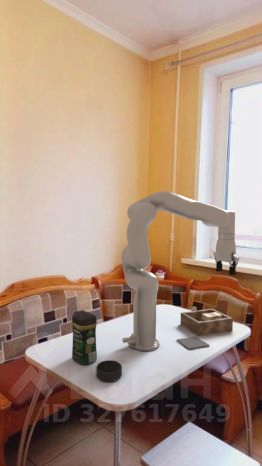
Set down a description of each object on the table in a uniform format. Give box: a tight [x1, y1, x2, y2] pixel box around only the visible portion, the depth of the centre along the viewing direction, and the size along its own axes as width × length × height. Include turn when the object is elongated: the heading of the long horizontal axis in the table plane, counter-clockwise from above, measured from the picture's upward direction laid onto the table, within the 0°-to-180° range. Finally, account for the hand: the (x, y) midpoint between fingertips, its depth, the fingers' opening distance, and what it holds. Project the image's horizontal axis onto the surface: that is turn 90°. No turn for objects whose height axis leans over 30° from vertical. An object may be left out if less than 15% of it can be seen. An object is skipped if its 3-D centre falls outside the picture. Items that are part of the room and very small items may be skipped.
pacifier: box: [190, 306, 198, 311], centre depth 173 cm, size 7×6×6 cm
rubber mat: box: [176, 335, 210, 351], centre depth 141 cm, size 10×10×1 cm
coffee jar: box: [71, 309, 98, 365], centre depth 124 cm, size 10×8×19 cm
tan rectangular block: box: [202, 312, 222, 321], centre depth 161 cm, size 8×5×3 cm, turn 112°
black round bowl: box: [95, 359, 123, 383], centre depth 113 cm, size 9×9×4 cm
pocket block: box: [180, 308, 234, 337], centre depth 160 cm, size 19×16×6 cm
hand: (225, 273), depth 154 cm, fingers open, 9 cm apart
